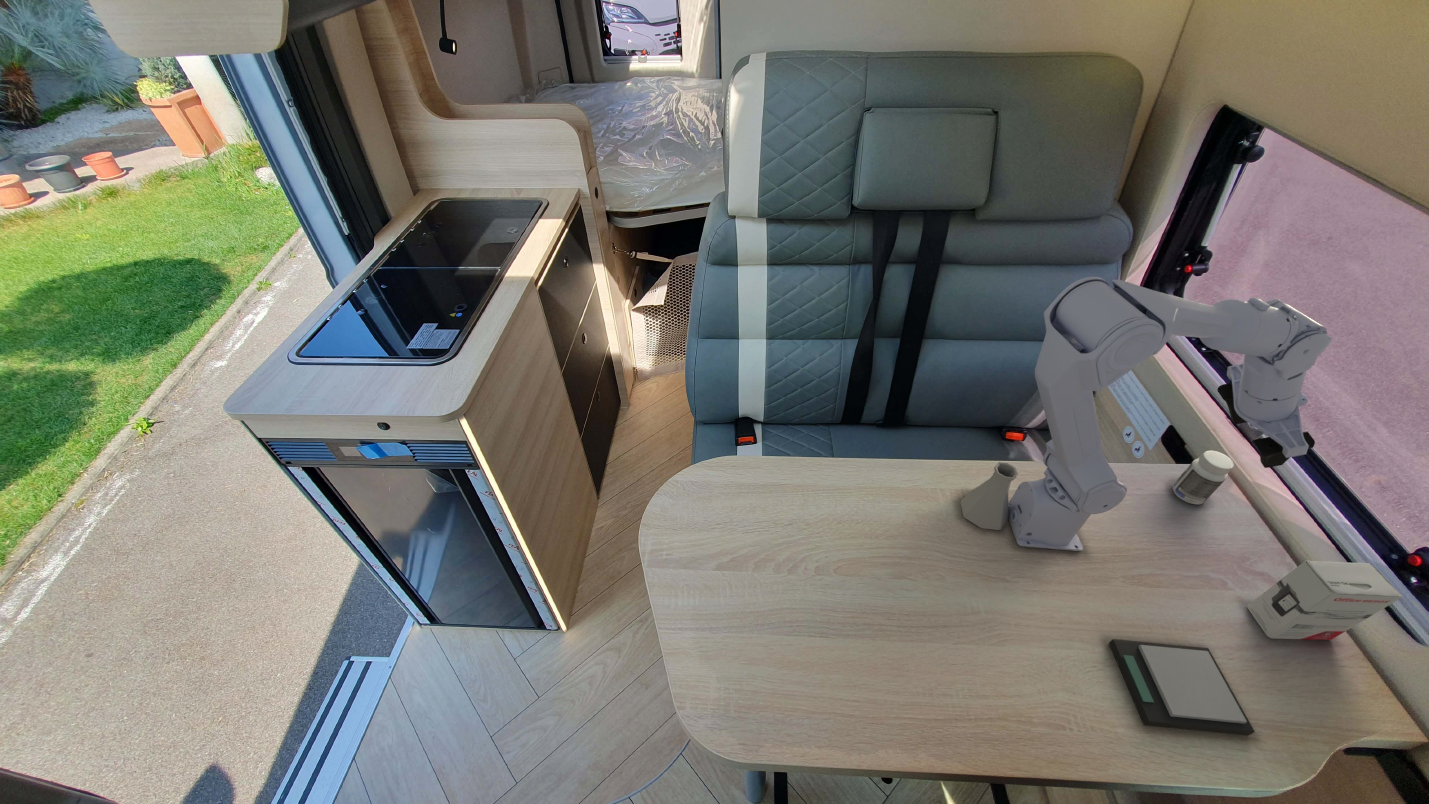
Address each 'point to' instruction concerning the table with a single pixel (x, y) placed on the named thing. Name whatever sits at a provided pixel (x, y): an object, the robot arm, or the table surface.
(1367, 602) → the ink box
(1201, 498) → the pill bottle
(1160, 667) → the scale
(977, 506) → the flask
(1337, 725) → the table surface
